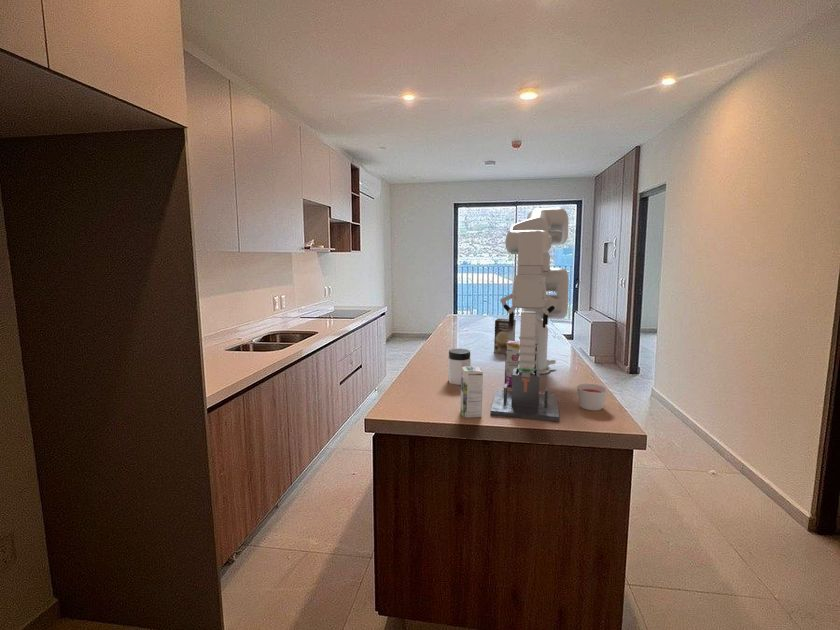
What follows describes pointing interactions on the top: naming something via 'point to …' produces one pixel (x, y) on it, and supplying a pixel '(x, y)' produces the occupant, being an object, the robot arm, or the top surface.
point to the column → (527, 342)
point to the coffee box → (503, 334)
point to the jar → (457, 364)
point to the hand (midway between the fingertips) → (527, 326)
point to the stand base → (525, 399)
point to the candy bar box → (514, 359)
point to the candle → (591, 396)
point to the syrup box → (471, 392)
